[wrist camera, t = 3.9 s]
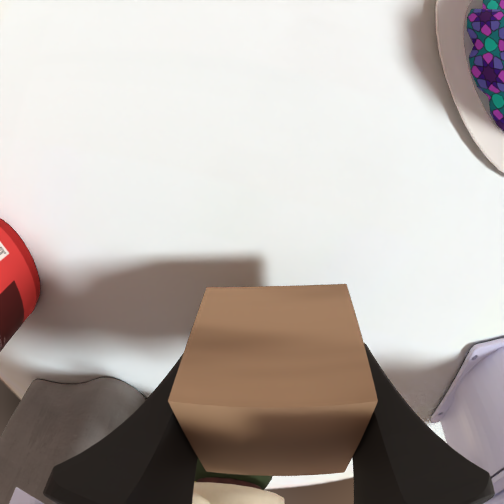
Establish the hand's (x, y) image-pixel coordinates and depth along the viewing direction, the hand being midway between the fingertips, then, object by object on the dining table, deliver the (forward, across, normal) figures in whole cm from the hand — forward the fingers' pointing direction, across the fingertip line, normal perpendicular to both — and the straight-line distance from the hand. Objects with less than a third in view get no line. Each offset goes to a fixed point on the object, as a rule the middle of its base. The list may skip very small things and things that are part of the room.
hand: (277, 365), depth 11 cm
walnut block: (+2, 0, 0) cm, 2 cm away
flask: (+5, +17, +12) cm, 21 cm away
